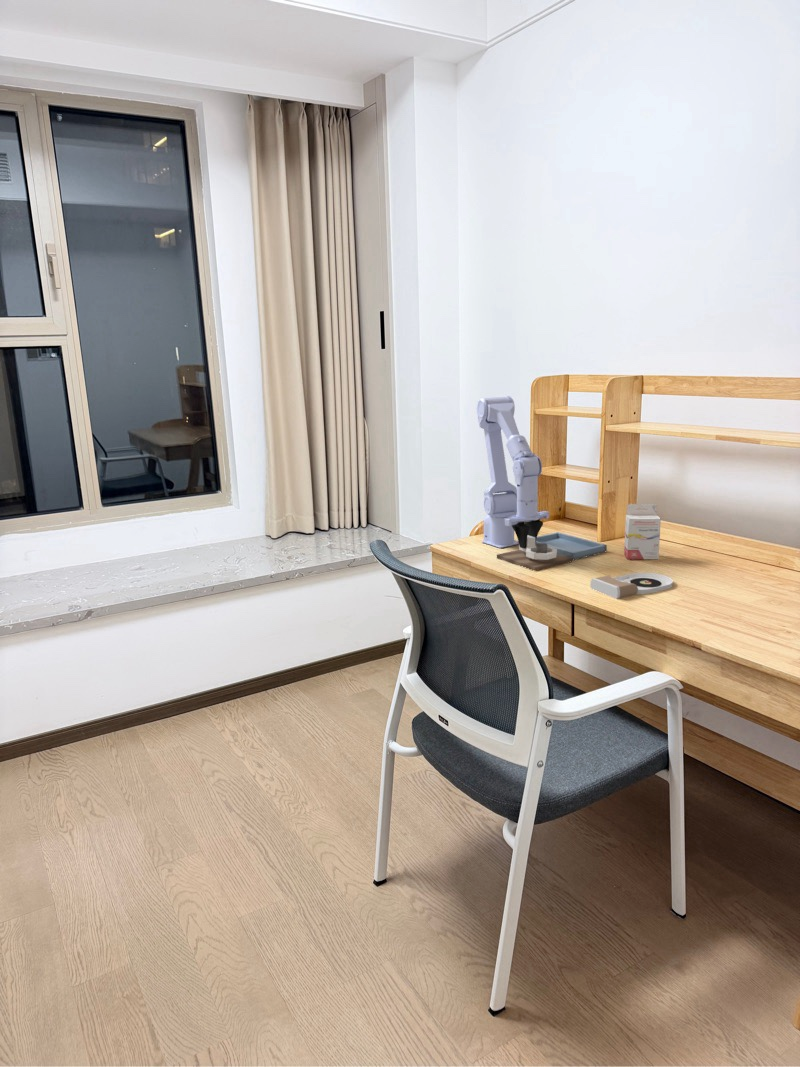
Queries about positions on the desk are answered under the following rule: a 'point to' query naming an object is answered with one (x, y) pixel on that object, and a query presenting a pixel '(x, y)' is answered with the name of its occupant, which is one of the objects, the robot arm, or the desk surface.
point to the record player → (631, 584)
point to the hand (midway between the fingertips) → (527, 546)
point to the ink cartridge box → (642, 532)
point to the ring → (531, 550)
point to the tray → (571, 545)
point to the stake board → (534, 564)
